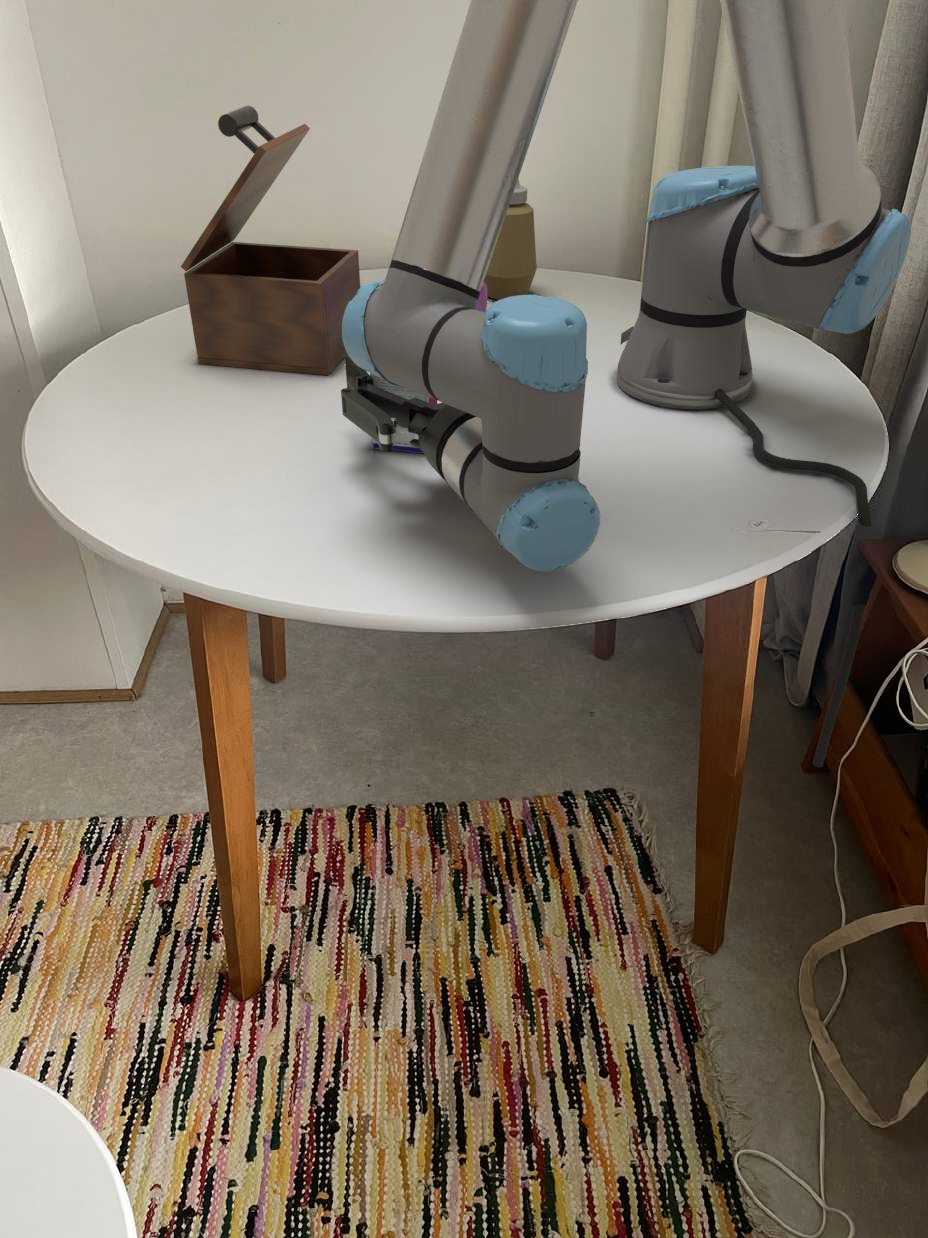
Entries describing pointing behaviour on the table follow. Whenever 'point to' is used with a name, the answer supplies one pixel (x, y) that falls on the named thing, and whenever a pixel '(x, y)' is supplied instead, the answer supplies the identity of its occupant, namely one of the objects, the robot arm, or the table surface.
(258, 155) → the lid
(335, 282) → the chest
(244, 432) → the table surface
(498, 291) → the squeeze bottle
